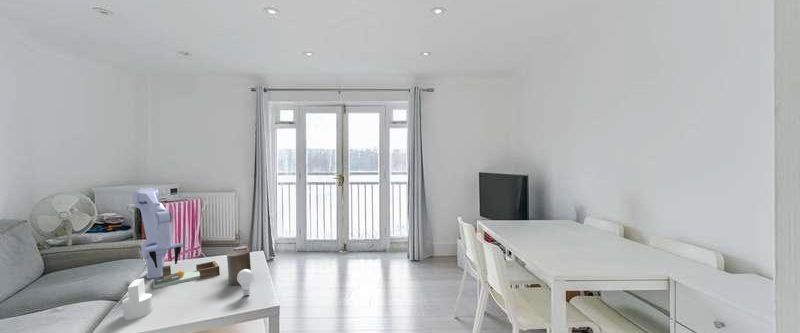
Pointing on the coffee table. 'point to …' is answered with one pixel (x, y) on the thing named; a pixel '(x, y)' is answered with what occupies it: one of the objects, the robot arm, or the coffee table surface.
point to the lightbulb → (245, 280)
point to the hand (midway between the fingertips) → (166, 265)
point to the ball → (180, 273)
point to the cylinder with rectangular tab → (137, 301)
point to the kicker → (166, 272)
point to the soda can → (241, 248)
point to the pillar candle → (237, 264)
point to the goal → (208, 269)
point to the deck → (180, 279)
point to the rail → (165, 279)
